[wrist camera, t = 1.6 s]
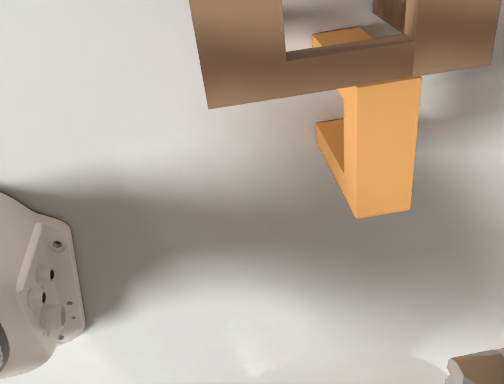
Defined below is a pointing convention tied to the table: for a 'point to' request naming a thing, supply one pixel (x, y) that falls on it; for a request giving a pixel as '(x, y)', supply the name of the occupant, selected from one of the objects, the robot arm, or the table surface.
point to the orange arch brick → (372, 138)
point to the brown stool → (334, 48)
